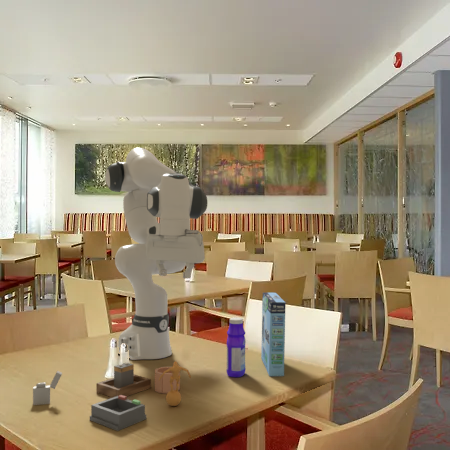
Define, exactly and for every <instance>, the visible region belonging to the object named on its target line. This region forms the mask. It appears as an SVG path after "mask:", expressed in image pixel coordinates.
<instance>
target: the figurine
mask: <svg viewBox="0 0 450 450" xmlns="http://www.w3.org/2000/svg"><path fill="white" fill-rule="evenodd" d="M170 367H171V368H169V369H168V370H166V371H164V372H163V374H162V375H161V376H160V378H159V380H160V379H161V378H162V377H163V375H164V374H165V373H167V372H169V371H172V374H173V377H172V376H170V381H169V382H170V387H171V390H170V391H169V392H168V393H167V394H166V396H165V400H166V403H167V404H168V406H171V407H176V406H178V405H179V404H180V403H181V401H182V394H181V393H180V391H178V387H179V383H178V382H179V381H180V382H181V374H180V375H179V372H180V373H181V371H184V372H186V374H187V375H188V378H189V379H192V376H191V373H190V372H189V369H187V368H185V367H183V366H180V365H179V364H178V362H177V360H176V361H174V362H173V365H172V366H170ZM178 375H179V376H178ZM174 379H175V380H176V381H177V384H176V386H177V388H176V390H173V384H172V382H173V381H174Z"/></svg>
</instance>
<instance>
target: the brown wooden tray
mask: <svg viewBox="0 0 450 450" xmlns="http://www.w3.org/2000/svg"><path fill="white" fill-rule="evenodd" d="M95 384H96V392H95V393H98V394H100V395H102V396H103V395H104V396H107V397H110V398H113V397H116V396H120V395H123V396H126V397H129V396H132V395H135V394H137V393H138V394H139V393H140V392H143V391H146V390H148V389H151V388H152V379H151V378H149V377H145V376H142V375H138V374H134V383H133V384H130V385H127V386H124V387H121V388H116V387H114V377H112V378H108V379H106V380H104V381H99V382H97V383H95Z"/></svg>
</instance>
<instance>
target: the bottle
mask: <svg viewBox="0 0 450 450" xmlns="http://www.w3.org/2000/svg"><path fill="white" fill-rule="evenodd" d="M243 323H244V321H243V318H242V317H238V316H237V317H235V316H234V317H230V318H229V326H228V330H227V331H226V334H227V337H226V339H227V340H226V374H227V376H228V377H231V378H241V377H243V376H244V375H245V373H246V343H247V342H246V337H245V335H246V331H245V329H244V324H243Z"/></svg>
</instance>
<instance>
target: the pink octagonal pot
mask: <svg viewBox="0 0 450 450" xmlns="http://www.w3.org/2000/svg"><path fill="white" fill-rule="evenodd" d="M171 367H172V366H161V367H158V368H155V369H154V392H155V393H158V394H166V395H167V393H168V392H169V391H170V390H171V387H170V382H169V381H170V376H172V377H173V374H172V371H169V372H167V373H165V374H164V375H163V377H162V378H161V379H160V380H159V378H160V376H161V375H162V374H163V372H164V371H166V370H168V369H169V368H171ZM179 375H180V376H181V371H180V372H179ZM179 375H178V376H179ZM178 383H179V387H178V392H180V390H181V380H180V381H179V382H178ZM172 384H173V390H176V388H177V386H176V384H177V381H176V380H175V379H174V381H173V382H172Z"/></svg>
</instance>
